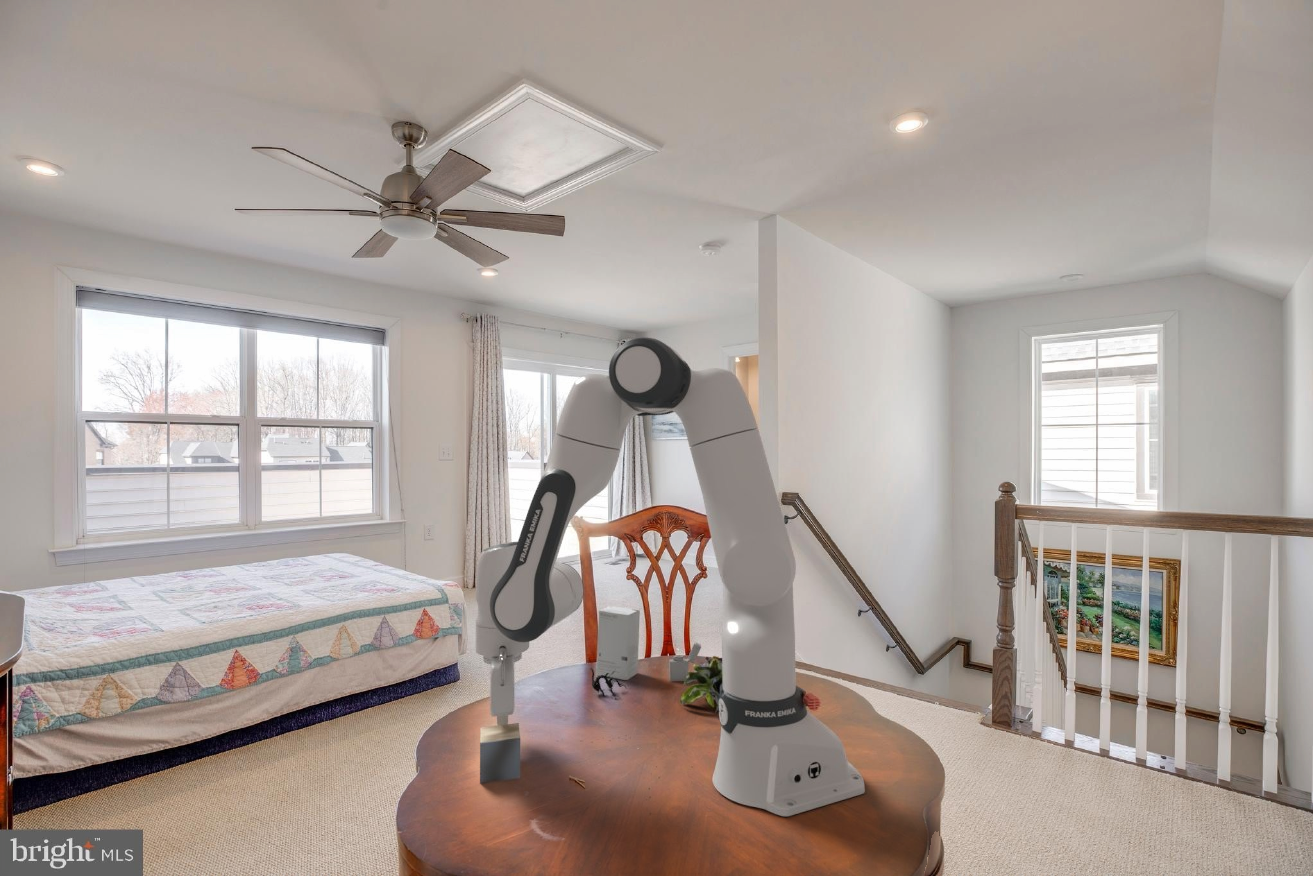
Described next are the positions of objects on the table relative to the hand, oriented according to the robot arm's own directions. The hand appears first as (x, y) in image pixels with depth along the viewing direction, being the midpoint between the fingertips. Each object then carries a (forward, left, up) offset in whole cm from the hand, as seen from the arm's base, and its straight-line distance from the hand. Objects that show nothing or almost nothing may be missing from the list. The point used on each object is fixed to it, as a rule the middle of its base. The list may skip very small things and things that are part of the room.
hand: (502, 722), depth 104 cm
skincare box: (-26, -33, -5) cm, 42 cm away
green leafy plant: (-41, -10, -5) cm, 42 cm away
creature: (-22, -23, -5) cm, 32 cm away
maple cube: (+1, +3, -2) cm, 4 cm away
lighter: (-40, -26, -5) cm, 48 cm away
